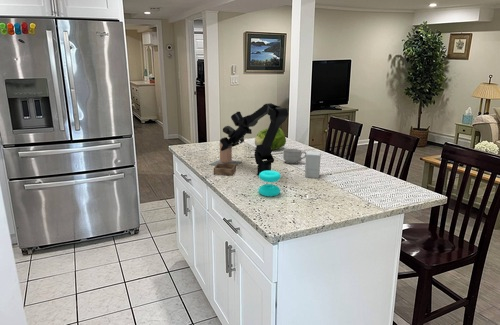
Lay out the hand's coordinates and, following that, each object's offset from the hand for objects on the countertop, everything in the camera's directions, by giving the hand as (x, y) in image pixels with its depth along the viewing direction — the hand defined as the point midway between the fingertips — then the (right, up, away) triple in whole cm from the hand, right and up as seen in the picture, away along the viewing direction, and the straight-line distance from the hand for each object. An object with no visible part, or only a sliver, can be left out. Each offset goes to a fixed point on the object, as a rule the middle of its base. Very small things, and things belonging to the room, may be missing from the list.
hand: (223, 149), depth 219 cm
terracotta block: (+1, -7, +1) cm, 7 cm away
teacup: (+42, -8, +6) cm, 43 cm away
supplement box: (+49, -15, -19) cm, 54 cm away
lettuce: (+28, +1, +38) cm, 47 cm away
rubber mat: (+1, -8, +2) cm, 9 cm away
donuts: (+24, -22, -46) cm, 56 cm away
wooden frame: (+2, -13, -15) cm, 20 cm away
